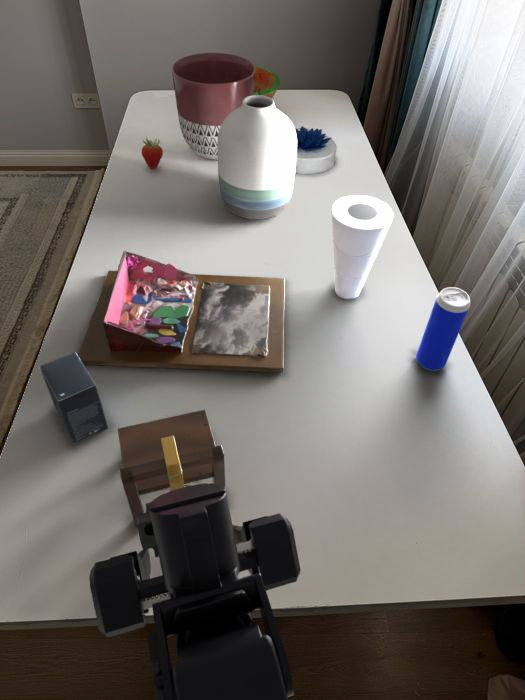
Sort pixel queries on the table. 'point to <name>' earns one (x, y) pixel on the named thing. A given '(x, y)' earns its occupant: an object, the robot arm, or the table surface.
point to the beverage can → (443, 328)
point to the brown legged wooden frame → (148, 459)
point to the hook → (172, 463)
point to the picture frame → (185, 320)
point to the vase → (256, 159)
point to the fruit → (152, 153)
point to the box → (74, 397)
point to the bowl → (265, 82)
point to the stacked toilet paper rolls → (357, 240)
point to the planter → (209, 95)
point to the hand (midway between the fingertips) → (189, 540)
